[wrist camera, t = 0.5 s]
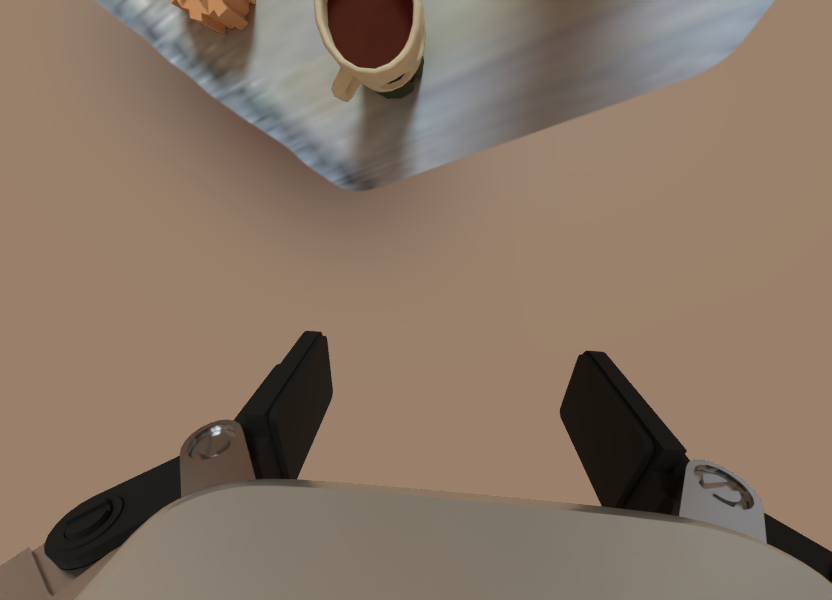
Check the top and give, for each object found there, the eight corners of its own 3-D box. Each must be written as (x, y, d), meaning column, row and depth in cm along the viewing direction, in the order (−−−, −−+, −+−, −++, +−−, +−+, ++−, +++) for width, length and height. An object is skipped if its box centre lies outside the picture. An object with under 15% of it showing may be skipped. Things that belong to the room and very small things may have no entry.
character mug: (390, 135, 34) (365, 126, 22) (337, 88, 32) (280, 52, 20) (454, 36, 30) (465, -39, 18) (397, -23, 28) (368, -148, 16)
